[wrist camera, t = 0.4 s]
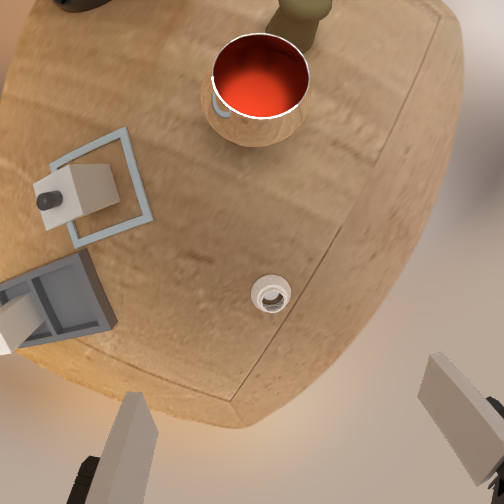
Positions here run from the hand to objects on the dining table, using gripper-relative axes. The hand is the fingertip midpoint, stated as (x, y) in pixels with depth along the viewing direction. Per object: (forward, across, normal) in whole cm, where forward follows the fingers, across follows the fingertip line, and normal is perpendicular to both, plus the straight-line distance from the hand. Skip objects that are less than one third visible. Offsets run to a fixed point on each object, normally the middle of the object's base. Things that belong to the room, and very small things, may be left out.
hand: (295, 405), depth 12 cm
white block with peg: (+26, -19, +9) cm, 33 cm away
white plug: (+25, -36, -6) cm, 44 cm away
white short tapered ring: (+26, +1, -6) cm, 27 cm away
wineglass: (+26, 0, +15) cm, 30 cm away
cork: (+26, +6, +26) cm, 38 cm away
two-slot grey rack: (+26, -31, -5) cm, 41 cm away
